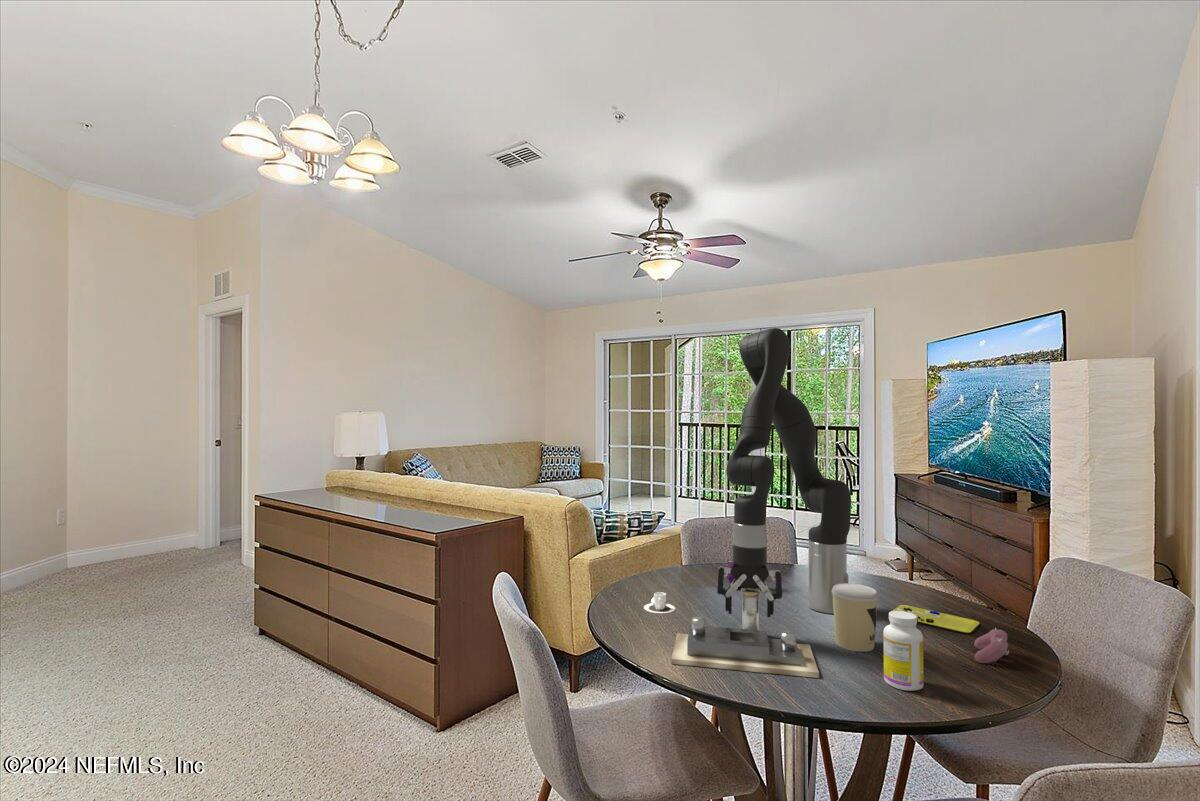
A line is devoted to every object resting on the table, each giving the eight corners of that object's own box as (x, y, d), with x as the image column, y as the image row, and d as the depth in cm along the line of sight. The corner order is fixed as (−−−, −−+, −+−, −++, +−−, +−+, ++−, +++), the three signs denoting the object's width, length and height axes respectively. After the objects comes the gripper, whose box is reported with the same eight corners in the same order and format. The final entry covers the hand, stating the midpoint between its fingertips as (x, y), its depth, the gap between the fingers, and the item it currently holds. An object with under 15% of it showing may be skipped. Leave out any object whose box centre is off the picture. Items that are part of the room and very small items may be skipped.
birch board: (809, 649, 127) (809, 644, 127) (819, 678, 113) (819, 672, 113) (677, 637, 133) (677, 633, 133) (671, 663, 119) (671, 658, 119)
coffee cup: (880, 656, 124) (880, 597, 124) (832, 649, 127) (832, 592, 127) (876, 640, 133) (876, 585, 133) (831, 634, 136) (831, 581, 136)
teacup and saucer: (652, 602, 159) (652, 586, 159) (680, 606, 155) (680, 591, 155) (638, 611, 151) (639, 595, 151) (668, 617, 148) (668, 600, 148)
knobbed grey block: (795, 647, 125) (796, 619, 125) (800, 665, 117) (801, 634, 117) (690, 638, 130) (690, 610, 130) (687, 655, 121) (687, 625, 121)
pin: (759, 631, 137) (759, 587, 137) (760, 638, 133) (760, 593, 133) (740, 630, 138) (740, 586, 138) (741, 636, 134) (741, 592, 134)
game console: (981, 625, 144) (981, 619, 144) (970, 638, 135) (970, 632, 135) (900, 608, 156) (900, 602, 156) (886, 619, 148) (886, 613, 148)
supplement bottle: (908, 675, 115) (908, 608, 115) (931, 691, 108) (931, 620, 109) (876, 677, 114) (876, 609, 114) (897, 693, 108) (897, 621, 108)
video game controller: (996, 675, 119) (1015, 646, 117) (972, 660, 121) (990, 632, 120) (994, 657, 127) (1012, 631, 126) (972, 643, 130) (989, 617, 128)
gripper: (781, 541, 138) (780, 612, 138) (718, 537, 141) (717, 606, 141) (783, 548, 131) (783, 623, 130) (717, 544, 134) (716, 617, 134)
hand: (749, 614), depth 136 cm, fingers open, 8 cm apart
